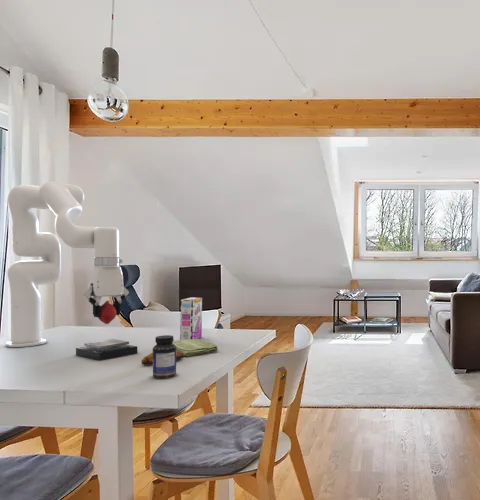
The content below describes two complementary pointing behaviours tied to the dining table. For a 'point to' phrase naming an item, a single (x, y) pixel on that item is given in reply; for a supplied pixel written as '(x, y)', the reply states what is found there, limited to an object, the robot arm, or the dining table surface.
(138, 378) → the dining table surface
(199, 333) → the candy bar box
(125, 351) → the scale
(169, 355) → the pill bottle
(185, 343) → the washcloth
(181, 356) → the croissant
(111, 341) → the scale pan
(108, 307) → the onion
